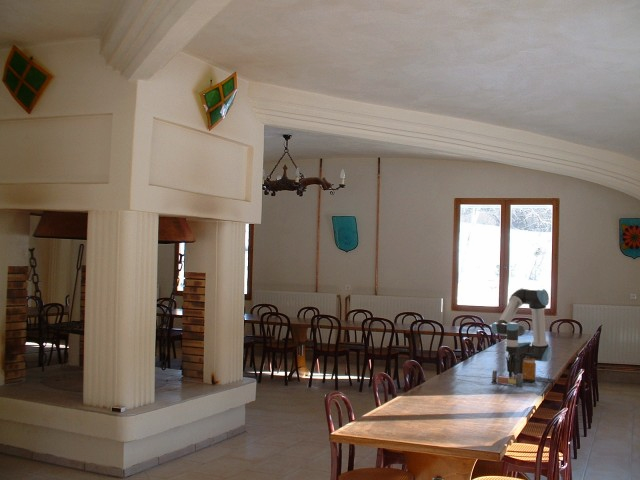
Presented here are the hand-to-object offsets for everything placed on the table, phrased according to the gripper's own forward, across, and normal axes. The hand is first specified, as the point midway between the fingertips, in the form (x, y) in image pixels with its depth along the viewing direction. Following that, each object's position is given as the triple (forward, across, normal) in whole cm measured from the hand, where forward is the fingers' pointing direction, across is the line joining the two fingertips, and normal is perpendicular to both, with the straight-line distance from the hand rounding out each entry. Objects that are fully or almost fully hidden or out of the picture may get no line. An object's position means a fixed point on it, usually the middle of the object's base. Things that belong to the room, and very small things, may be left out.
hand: (510, 381), depth 466 cm
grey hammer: (+2, +3, +4) cm, 5 cm away
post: (+2, +2, -11) cm, 11 cm away
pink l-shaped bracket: (+2, +2, -2) cm, 3 cm away
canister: (+2, -20, +4) cm, 20 cm away
